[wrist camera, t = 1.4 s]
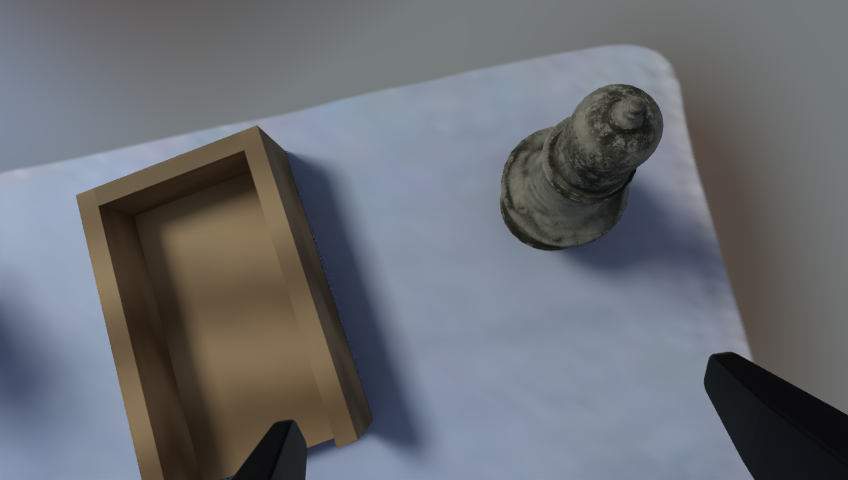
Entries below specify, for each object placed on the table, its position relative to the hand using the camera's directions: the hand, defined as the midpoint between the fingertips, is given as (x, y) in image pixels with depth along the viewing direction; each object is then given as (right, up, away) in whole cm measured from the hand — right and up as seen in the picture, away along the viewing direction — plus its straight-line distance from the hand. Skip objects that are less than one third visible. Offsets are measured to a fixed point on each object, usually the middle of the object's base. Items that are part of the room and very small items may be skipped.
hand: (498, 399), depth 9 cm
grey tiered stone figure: (+5, +5, +15) cm, 16 cm away
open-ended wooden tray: (-12, 0, +15) cm, 19 cm away
